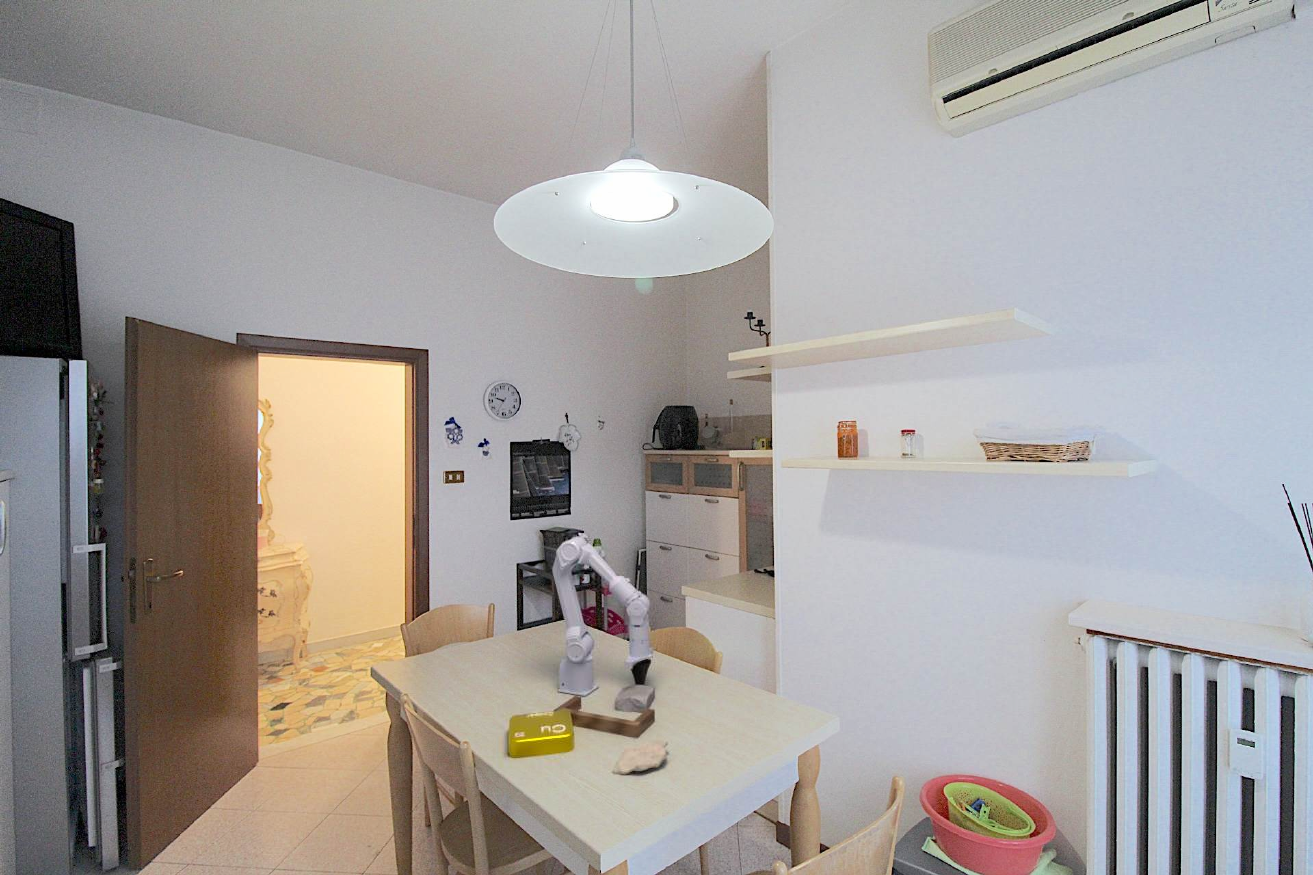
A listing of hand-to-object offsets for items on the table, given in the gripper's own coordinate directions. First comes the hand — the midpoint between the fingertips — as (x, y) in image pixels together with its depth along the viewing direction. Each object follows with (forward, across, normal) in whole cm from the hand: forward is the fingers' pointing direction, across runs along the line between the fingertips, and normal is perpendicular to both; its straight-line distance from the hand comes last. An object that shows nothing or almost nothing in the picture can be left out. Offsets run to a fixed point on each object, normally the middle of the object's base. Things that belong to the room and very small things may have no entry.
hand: (640, 686), depth 179 cm
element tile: (+3, -36, +9) cm, 37 cm away
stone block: (+2, -7, -2) cm, 8 cm away
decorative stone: (+2, -36, -18) cm, 40 cm away
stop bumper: (+2, -21, 0) cm, 21 cm away
